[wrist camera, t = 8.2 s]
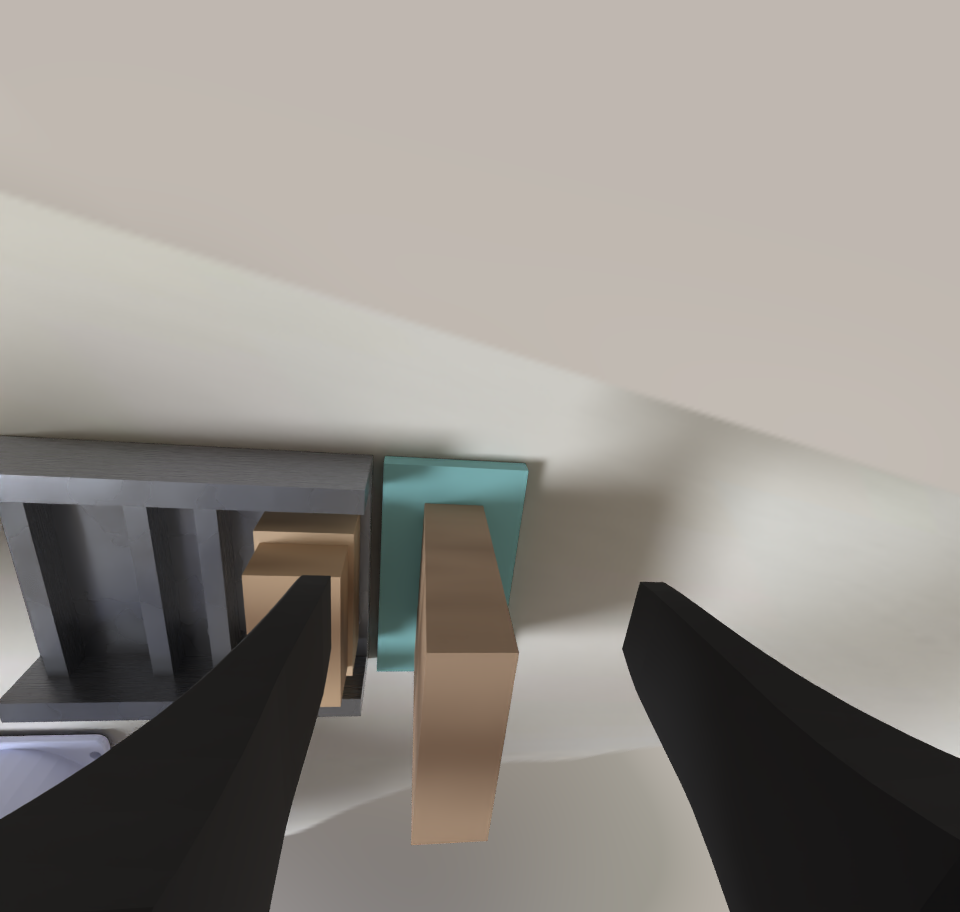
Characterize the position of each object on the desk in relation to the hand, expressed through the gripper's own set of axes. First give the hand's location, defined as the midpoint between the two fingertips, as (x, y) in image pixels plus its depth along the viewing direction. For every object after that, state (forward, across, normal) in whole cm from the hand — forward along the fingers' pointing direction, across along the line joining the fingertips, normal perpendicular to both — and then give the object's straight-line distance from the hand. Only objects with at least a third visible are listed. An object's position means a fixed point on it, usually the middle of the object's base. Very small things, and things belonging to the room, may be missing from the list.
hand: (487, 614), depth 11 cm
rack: (+10, +10, +6) cm, 16 cm away
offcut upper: (+7, +6, +6) cm, 11 cm away
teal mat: (+10, 0, +6) cm, 12 cm away
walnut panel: (+10, 0, +6) cm, 11 cm away
